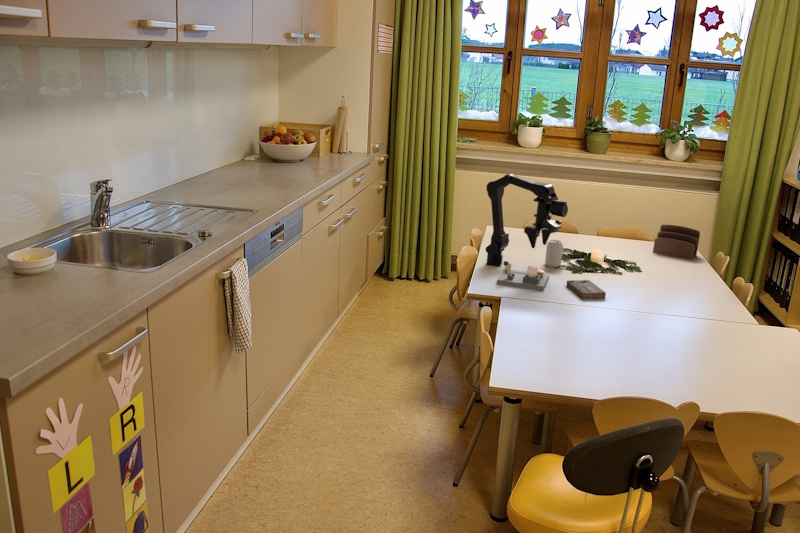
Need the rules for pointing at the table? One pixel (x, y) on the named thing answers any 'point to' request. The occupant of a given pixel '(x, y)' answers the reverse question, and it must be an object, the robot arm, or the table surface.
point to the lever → (507, 268)
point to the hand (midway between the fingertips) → (538, 246)
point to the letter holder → (677, 241)
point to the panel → (522, 280)
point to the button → (532, 272)
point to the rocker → (540, 272)
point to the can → (554, 253)
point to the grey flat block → (586, 289)
